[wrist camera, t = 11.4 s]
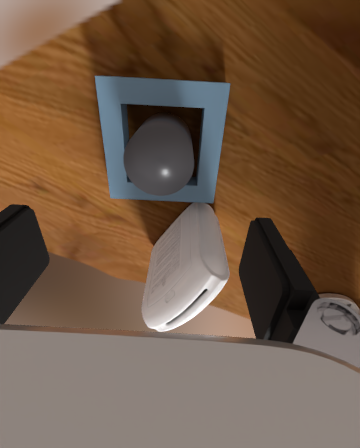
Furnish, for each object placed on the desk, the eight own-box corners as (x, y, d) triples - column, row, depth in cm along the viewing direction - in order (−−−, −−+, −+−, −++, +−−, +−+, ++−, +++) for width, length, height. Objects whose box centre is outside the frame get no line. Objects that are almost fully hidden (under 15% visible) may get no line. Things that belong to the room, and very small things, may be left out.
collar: (225, 82, 21) (230, 83, 19) (210, 193, 27) (213, 203, 25) (103, 75, 21) (94, 75, 19) (116, 188, 27) (110, 198, 25)
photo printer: (173, 262, 33) (168, 349, 23) (147, 248, 32) (130, 333, 21) (222, 213, 28) (244, 293, 18) (195, 194, 27) (202, 269, 17)
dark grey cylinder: (193, 113, 22) (197, 128, 17) (189, 168, 25) (191, 197, 20) (136, 110, 22) (120, 124, 16) (139, 166, 25) (126, 194, 19)
